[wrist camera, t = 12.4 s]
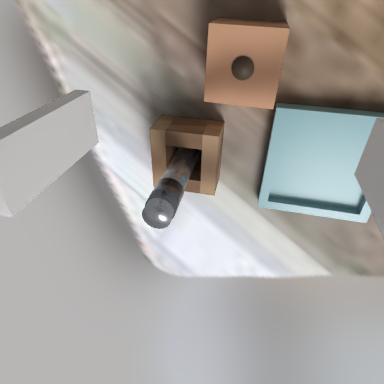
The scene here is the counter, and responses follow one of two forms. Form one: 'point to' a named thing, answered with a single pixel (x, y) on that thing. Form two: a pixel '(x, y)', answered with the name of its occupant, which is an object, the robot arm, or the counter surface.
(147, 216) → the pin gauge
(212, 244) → the counter surface
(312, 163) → the tray
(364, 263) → the counter surface
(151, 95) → the counter surface
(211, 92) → the block
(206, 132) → the block
